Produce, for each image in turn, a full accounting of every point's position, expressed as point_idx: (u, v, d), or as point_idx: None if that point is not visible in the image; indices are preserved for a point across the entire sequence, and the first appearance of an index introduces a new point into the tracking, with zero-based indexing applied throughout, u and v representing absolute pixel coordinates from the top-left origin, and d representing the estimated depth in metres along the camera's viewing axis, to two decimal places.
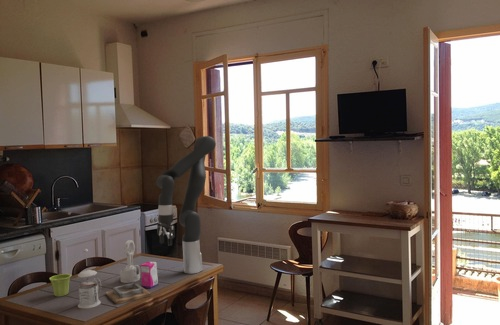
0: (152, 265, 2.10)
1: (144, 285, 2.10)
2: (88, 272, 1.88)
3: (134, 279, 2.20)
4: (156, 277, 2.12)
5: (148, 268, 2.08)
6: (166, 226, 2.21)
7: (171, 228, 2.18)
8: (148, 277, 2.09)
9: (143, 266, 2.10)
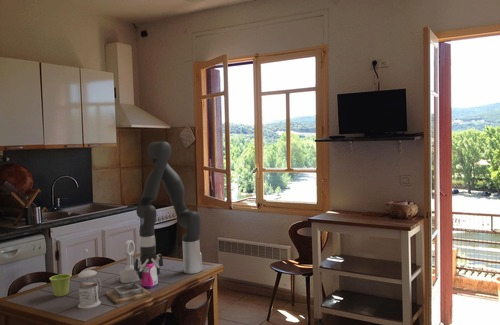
0: (152, 265, 2.10)
1: (144, 285, 2.10)
2: (88, 272, 1.88)
3: (134, 279, 2.20)
4: (156, 277, 2.12)
5: (148, 268, 2.08)
6: (154, 256, 2.12)
7: None
8: (148, 277, 2.09)
9: None
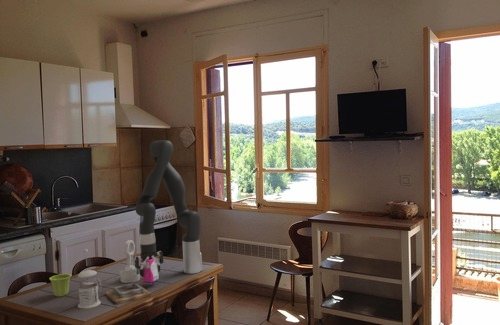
0: (152, 260, 2.10)
1: (145, 280, 2.11)
2: (88, 272, 1.88)
3: (134, 279, 2.20)
4: (156, 272, 2.13)
5: (148, 264, 2.09)
6: (154, 254, 2.12)
7: None
8: (148, 273, 2.09)
9: None
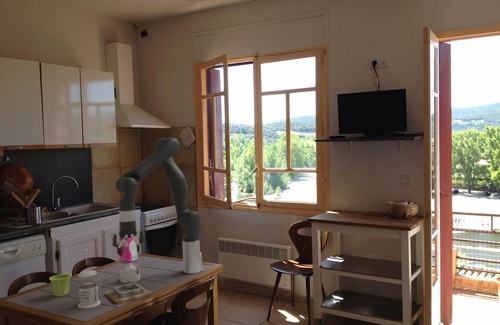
0: (131, 239, 1.99)
1: (122, 260, 1.99)
2: (88, 272, 1.88)
3: (134, 279, 2.20)
4: (135, 252, 2.01)
5: (127, 242, 1.97)
6: (134, 232, 2.01)
7: None
8: (127, 252, 1.98)
9: None
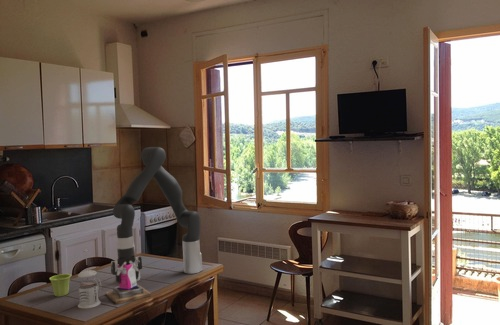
0: (130, 266, 1.98)
1: (121, 287, 1.98)
2: (88, 272, 1.88)
3: None
4: (134, 278, 2.00)
5: (126, 269, 1.96)
6: (132, 259, 2.00)
7: None
8: (125, 279, 1.96)
9: None
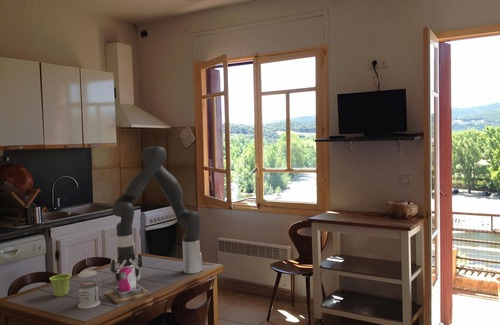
0: (130, 271, 1.98)
1: None
2: (88, 272, 1.88)
3: None
4: (134, 283, 2.00)
5: (125, 274, 1.96)
6: (132, 257, 2.00)
7: None
8: (125, 284, 1.97)
9: (120, 272, 1.98)
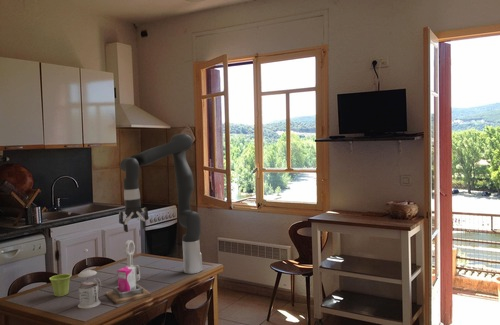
0: (129, 271, 1.98)
1: None
2: (88, 272, 1.88)
3: None
4: (134, 283, 2.00)
5: (125, 274, 1.96)
6: (139, 210, 2.12)
7: None
8: (125, 284, 1.96)
9: (120, 272, 1.98)
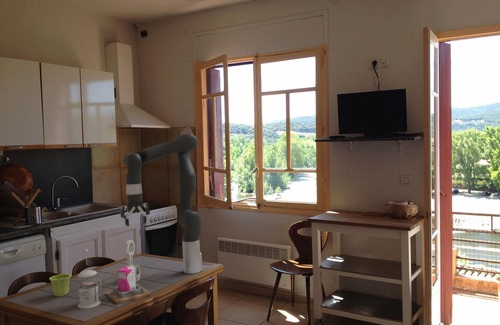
0: (129, 271, 1.98)
1: None
2: (88, 272, 1.88)
3: None
4: (134, 283, 2.00)
5: (125, 274, 1.96)
6: (140, 205, 2.15)
7: None
8: (125, 284, 1.96)
9: (120, 272, 1.98)
